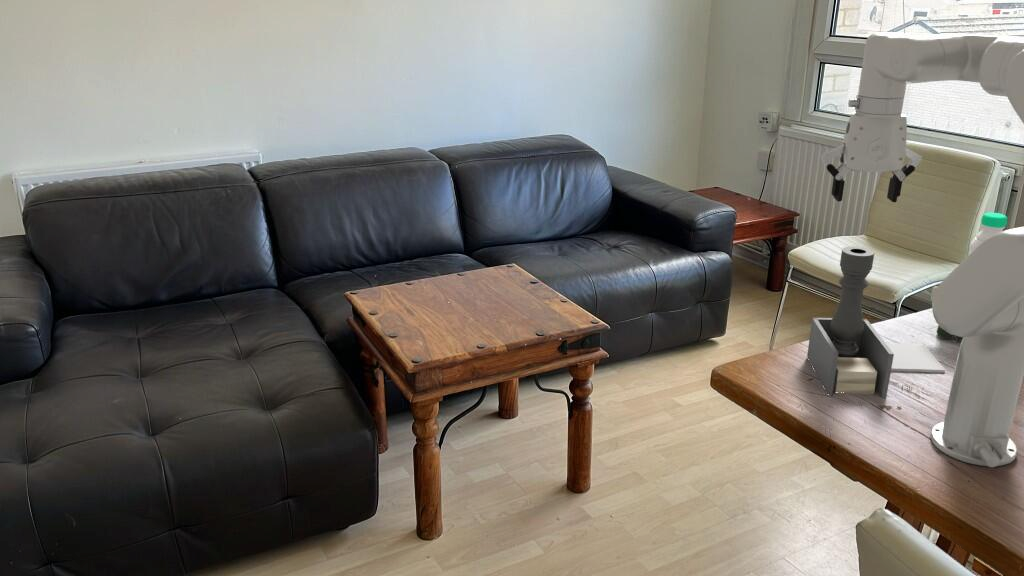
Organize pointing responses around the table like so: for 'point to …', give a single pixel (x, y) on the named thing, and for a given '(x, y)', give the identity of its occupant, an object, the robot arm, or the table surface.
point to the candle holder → (851, 300)
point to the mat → (913, 358)
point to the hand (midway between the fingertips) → (864, 199)
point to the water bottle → (989, 228)
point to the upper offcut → (855, 371)
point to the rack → (869, 347)
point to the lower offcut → (854, 388)
